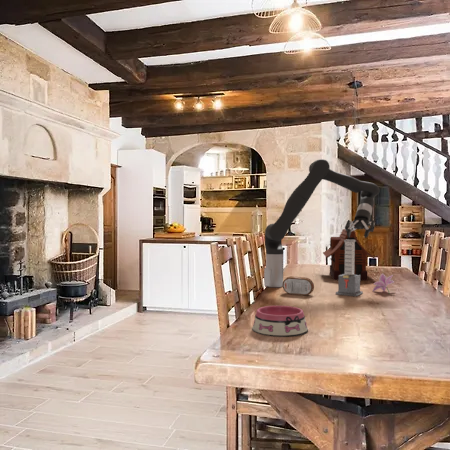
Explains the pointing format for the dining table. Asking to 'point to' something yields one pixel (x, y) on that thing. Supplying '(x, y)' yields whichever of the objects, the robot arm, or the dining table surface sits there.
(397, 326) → the dining table surface
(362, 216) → the robot arm
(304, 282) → the tin
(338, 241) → the house
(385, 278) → the lily
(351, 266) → the column
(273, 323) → the dog bowl
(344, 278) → the stand housing
